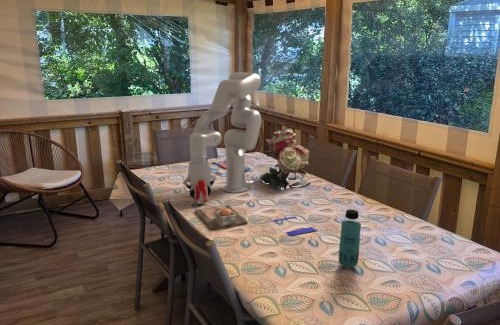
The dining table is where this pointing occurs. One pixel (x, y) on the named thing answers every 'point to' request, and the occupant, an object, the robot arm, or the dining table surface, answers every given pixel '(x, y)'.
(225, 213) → the button
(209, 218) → the picture board
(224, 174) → the puzzle board
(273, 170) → the rose bouquet
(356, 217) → the beverage bottle
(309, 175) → the dining table surface
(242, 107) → the robot arm
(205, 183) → the soda can
